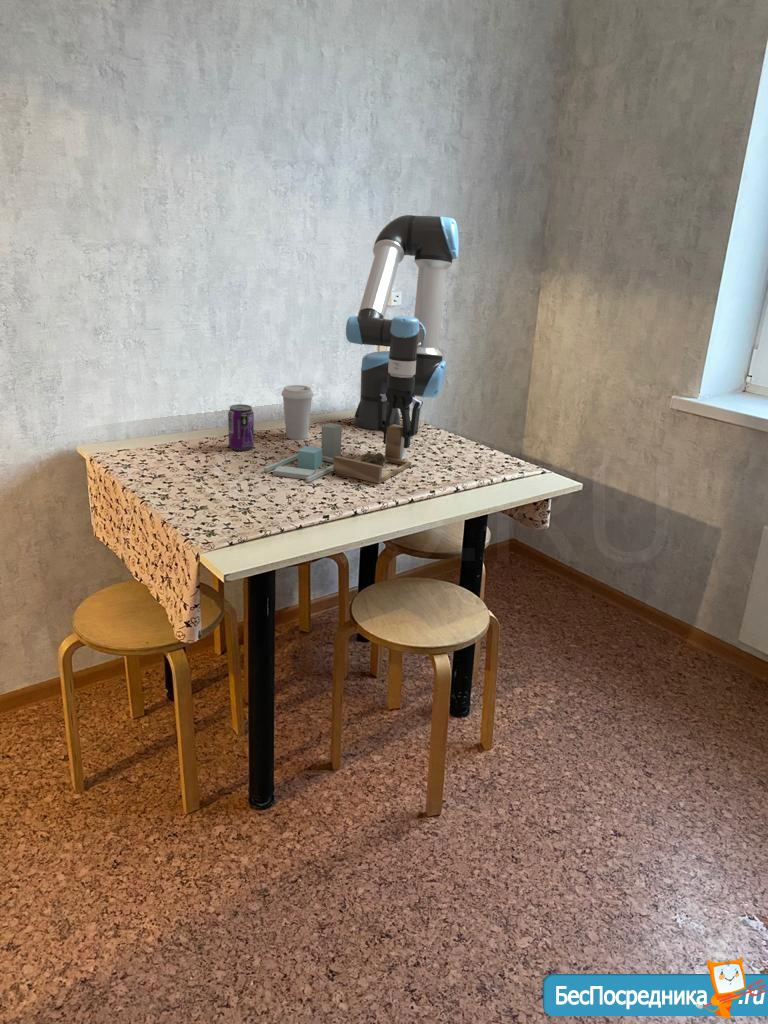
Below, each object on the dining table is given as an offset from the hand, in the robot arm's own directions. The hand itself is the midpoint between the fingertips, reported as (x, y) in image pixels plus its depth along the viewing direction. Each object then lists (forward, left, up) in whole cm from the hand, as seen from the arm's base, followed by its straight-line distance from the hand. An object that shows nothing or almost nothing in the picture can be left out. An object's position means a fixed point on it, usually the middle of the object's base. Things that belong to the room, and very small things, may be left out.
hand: (395, 456), depth 219 cm
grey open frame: (+20, -15, 0) cm, 25 cm away
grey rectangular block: (+29, -15, 0) cm, 32 cm away
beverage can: (+19, -40, -1) cm, 44 cm away
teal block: (+21, -15, 0) cm, 26 cm away
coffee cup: (0, -34, -1) cm, 34 cm away
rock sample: (+16, -1, -1) cm, 16 cm away
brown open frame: (+10, 0, 0) cm, 10 cm away
